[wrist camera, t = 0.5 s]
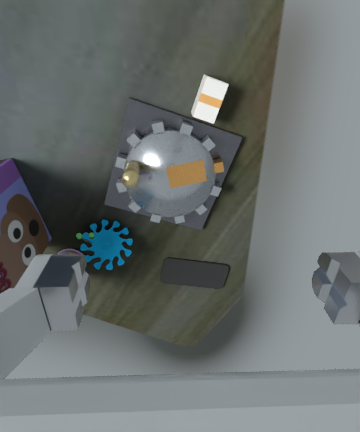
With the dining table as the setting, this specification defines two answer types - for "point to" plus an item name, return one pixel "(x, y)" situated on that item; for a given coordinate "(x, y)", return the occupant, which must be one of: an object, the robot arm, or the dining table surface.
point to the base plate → (142, 123)
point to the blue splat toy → (105, 244)
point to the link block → (209, 99)
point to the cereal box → (18, 226)
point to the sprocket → (169, 172)
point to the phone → (194, 273)
